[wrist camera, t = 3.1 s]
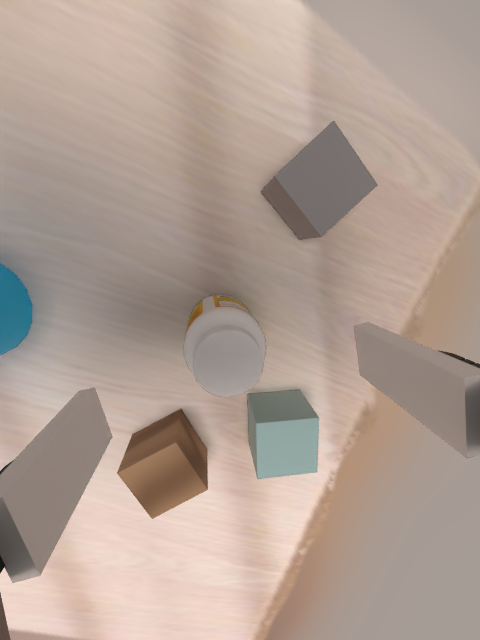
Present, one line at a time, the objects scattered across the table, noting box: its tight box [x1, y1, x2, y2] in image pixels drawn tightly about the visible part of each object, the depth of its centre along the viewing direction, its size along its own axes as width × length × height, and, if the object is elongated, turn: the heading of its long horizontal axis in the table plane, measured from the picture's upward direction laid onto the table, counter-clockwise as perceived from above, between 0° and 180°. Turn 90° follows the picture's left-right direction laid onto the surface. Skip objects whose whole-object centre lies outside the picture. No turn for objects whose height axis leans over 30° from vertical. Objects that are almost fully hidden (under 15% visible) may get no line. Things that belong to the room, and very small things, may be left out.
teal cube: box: [247, 390, 319, 479], centre depth 26 cm, size 5×5×5 cm
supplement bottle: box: [184, 294, 266, 397], centre depth 21 cm, size 5×5×10 cm
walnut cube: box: [117, 409, 208, 519], centre depth 25 cm, size 5×5×5 cm
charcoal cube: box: [261, 121, 377, 240], centre depth 22 cm, size 5×5×5 cm
